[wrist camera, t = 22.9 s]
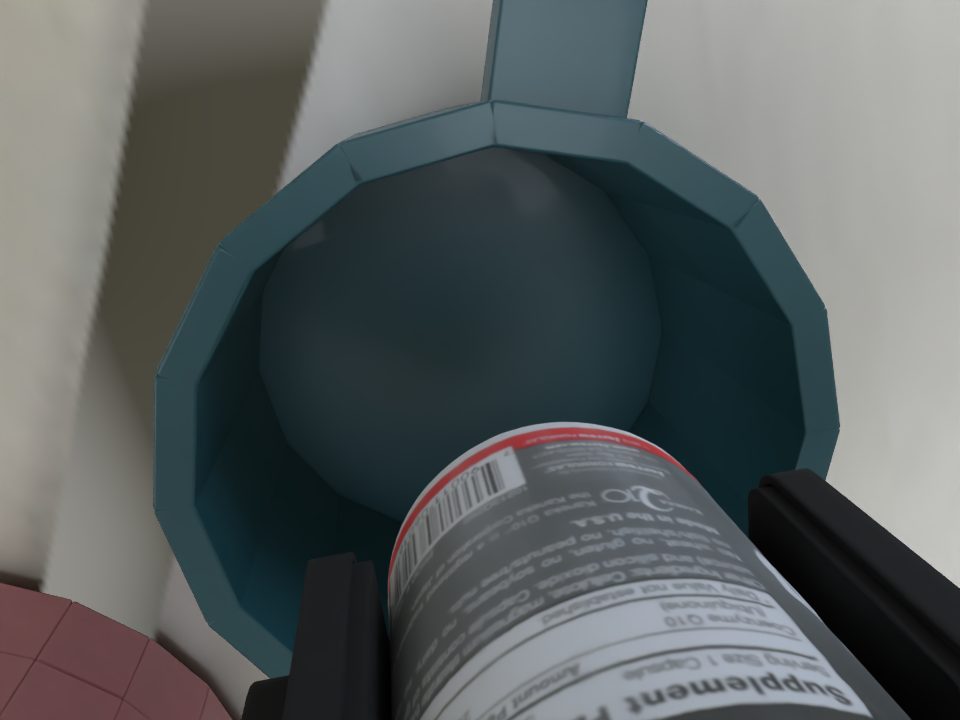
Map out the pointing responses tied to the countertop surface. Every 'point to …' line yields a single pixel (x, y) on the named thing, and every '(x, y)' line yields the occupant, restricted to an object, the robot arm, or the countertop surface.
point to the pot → (476, 322)
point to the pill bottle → (600, 596)
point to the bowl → (89, 667)
